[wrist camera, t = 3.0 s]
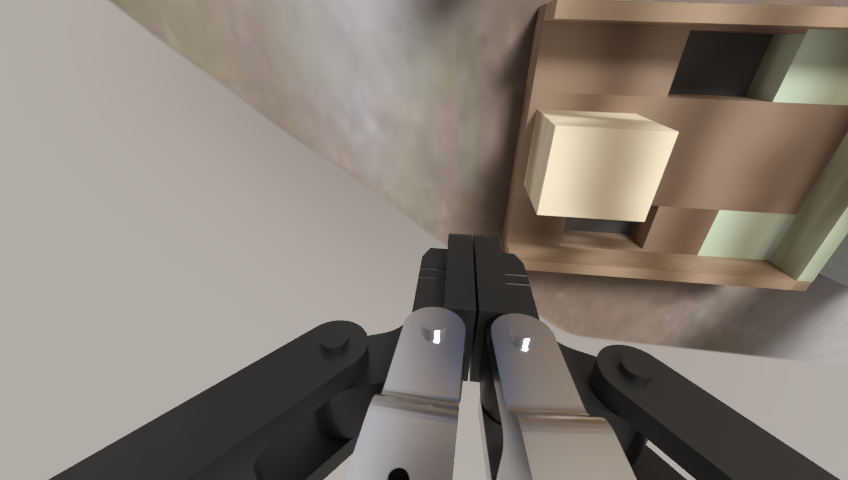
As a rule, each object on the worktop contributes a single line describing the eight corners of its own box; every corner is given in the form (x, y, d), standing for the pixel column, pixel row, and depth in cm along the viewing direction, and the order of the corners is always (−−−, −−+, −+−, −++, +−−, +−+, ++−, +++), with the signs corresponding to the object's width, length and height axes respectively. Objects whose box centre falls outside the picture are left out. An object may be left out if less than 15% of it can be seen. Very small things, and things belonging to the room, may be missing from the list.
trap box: (501, 235, 30) (508, 268, 25) (538, 7, 22) (557, -1, 17) (753, 252, 28) (805, 291, 24) (890, 17, 20) (1006, 11, 16)
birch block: (523, 184, 25) (537, 214, 20) (537, 108, 22) (555, 125, 18) (611, 189, 24) (644, 221, 20) (635, 113, 22) (679, 131, 17)
